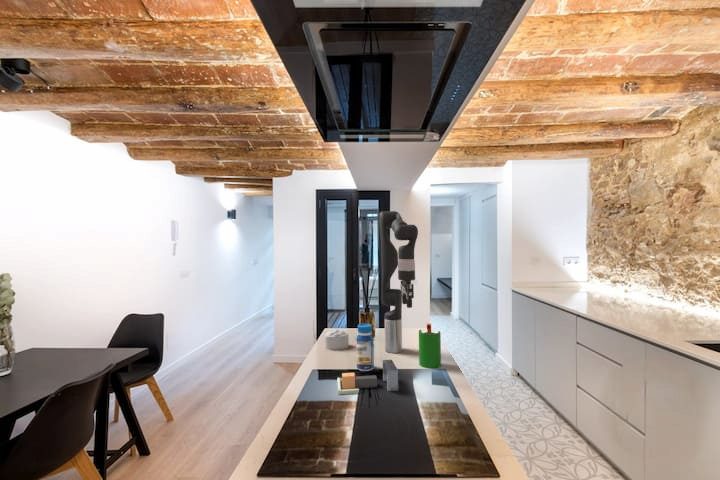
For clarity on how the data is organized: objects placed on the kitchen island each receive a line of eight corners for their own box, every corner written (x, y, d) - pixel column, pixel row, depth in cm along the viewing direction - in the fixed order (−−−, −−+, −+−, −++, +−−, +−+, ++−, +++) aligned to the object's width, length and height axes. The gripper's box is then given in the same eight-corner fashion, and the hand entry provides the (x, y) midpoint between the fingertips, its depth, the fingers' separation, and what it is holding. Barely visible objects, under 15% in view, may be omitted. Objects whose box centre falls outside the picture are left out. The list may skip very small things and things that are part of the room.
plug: (375, 383, 135) (375, 371, 135) (377, 387, 132) (377, 374, 132) (342, 385, 134) (341, 373, 134) (342, 389, 130) (342, 376, 131)
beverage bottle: (378, 368, 152) (377, 325, 152) (364, 373, 146) (363, 328, 147) (366, 363, 158) (366, 322, 158) (352, 367, 153) (352, 324, 153)
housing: (388, 391, 128) (387, 370, 128) (382, 378, 140) (382, 360, 140) (398, 390, 128) (397, 370, 129) (392, 378, 140) (391, 359, 140)
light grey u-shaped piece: (337, 381, 138) (337, 377, 138) (356, 380, 139) (356, 376, 139) (338, 394, 126) (338, 390, 126) (358, 393, 127) (358, 389, 127)
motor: (439, 361, 159) (439, 320, 160) (442, 368, 150) (441, 325, 151) (418, 361, 160) (418, 320, 161) (420, 368, 151) (419, 324, 152)
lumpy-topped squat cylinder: (325, 344, 190) (325, 329, 190) (348, 343, 191) (348, 328, 191) (325, 350, 180) (325, 334, 180) (348, 349, 180) (348, 333, 181)
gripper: (394, 268, 152) (395, 303, 152) (401, 270, 138) (402, 309, 138) (410, 268, 153) (411, 302, 153) (419, 270, 139) (419, 308, 139)
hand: (407, 305), depth 146 cm, fingers open, 8 cm apart
